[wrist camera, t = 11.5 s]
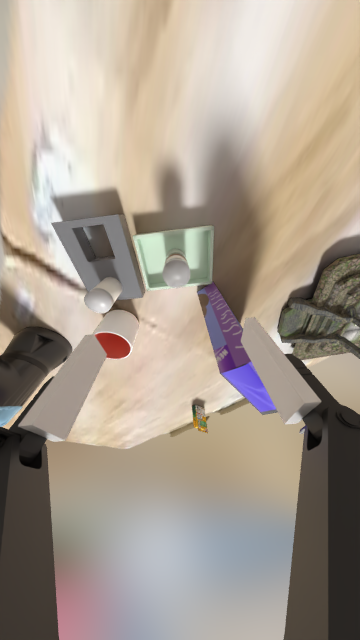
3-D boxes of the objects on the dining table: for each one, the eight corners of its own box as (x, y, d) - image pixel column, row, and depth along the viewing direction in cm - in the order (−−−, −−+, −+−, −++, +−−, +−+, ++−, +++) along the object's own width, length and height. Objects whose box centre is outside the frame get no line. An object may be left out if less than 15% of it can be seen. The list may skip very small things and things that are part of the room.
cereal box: (197, 291, 37) (220, 375, 18) (213, 281, 35) (258, 360, 16) (226, 331, 45) (263, 416, 26) (240, 324, 44) (290, 409, 25)
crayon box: (191, 406, 79) (193, 431, 69) (195, 404, 77) (198, 430, 68) (200, 409, 82) (203, 434, 72) (204, 407, 80) (208, 433, 71)
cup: (107, 303, 38) (88, 326, 30) (143, 313, 41) (135, 338, 33) (104, 329, 44) (88, 354, 36) (136, 337, 46) (128, 363, 38)
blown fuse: (167, 270, 33) (165, 289, 24) (164, 249, 30) (159, 262, 21) (186, 267, 32) (191, 286, 23) (184, 246, 30) (189, 258, 21)
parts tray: (149, 285, 35) (147, 290, 33) (136, 234, 29) (132, 235, 26) (209, 279, 35) (211, 283, 32) (210, 225, 28) (214, 225, 26)
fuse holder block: (100, 296, 37) (76, 321, 28) (63, 222, 27) (10, 225, 18) (145, 291, 36) (135, 315, 28) (124, 214, 27) (98, 213, 18)
